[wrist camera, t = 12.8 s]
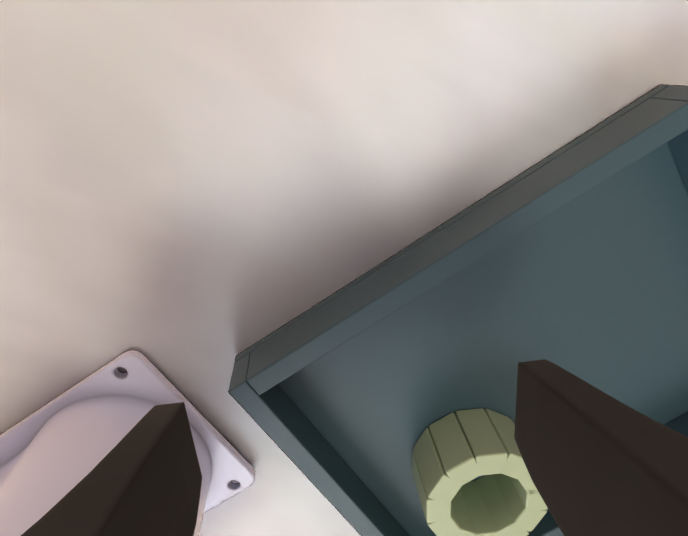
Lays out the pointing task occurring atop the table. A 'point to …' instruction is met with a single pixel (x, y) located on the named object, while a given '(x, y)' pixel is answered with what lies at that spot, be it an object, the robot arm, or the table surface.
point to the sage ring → (467, 464)
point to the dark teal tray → (492, 317)
